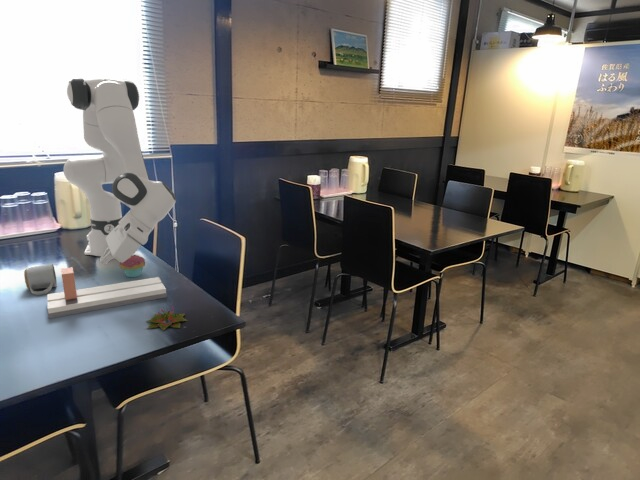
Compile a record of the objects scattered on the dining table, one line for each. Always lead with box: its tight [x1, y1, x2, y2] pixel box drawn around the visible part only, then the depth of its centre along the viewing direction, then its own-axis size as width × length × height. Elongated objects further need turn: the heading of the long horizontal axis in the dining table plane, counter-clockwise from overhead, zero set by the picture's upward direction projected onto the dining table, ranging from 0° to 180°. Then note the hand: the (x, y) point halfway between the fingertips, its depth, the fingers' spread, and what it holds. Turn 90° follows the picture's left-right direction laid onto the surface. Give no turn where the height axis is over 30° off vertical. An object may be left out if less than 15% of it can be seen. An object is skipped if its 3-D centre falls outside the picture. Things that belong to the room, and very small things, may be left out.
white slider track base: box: [46, 276, 167, 319], centre depth 133 cm, size 11×32×3 cm, turn 121°
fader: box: [60, 266, 77, 300], centre depth 127 cm, size 5×3×10 cm, turn 31°
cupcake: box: [118, 254, 146, 278], centre depth 153 cm, size 9×8×12 cm
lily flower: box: [145, 305, 189, 332], centre depth 122 cm, size 12×12×5 cm
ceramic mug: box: [23, 263, 58, 296], centre depth 138 cm, size 11×8×8 cm
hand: (102, 262), depth 130 cm, fingers closed
